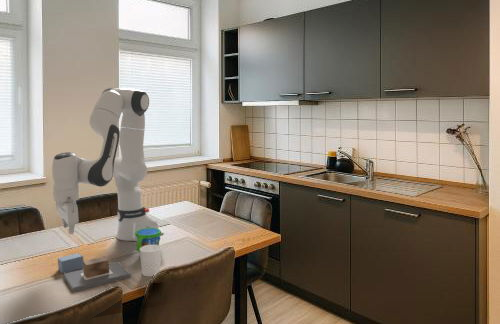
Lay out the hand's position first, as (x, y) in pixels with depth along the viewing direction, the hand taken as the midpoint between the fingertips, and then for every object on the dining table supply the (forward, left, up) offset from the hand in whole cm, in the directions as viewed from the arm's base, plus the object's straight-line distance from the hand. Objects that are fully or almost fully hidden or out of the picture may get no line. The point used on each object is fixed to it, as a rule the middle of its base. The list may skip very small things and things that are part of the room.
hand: (68, 230), depth 154 cm
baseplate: (-6, +14, -16) cm, 22 cm away
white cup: (-24, +22, -16) cm, 36 cm away
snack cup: (-31, +3, -16) cm, 35 cm away
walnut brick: (-6, +14, -14) cm, 21 cm away
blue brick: (0, 0, -16) cm, 16 cm away
